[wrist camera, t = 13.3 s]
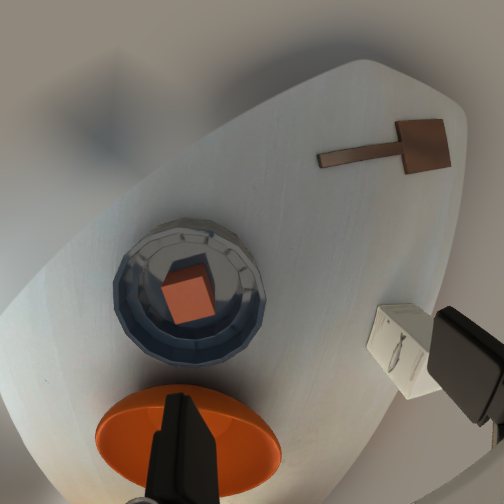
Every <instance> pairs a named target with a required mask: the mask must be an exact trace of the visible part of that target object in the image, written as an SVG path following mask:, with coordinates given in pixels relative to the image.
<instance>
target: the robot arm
mask: <svg viewBox="0 0 504 504" xmlns="http://www.w3.org/2000/svg"><path fill="white" fill-rule="evenodd" d="M427 371H428V373H429V375H430V376H431V377H432V378H433V379H434V380H435V381H436V382H437V383H438V384H439V385H440V387H441V388H442V389H443V390H444V391H445V392H446V393H447V394H448V395H449V397H450V398H451V399H452V400H453V401H454V402H455V403H456V404H457V405H458V407H459V408H460V409H461V410H462V411H463V412H464V414H465V415H466V416H467V417H468V418H469V419H470V420H471V422H472V423H477V425H478V426H479V427H481V426H482V425H484V424H485V423H486V422H487V421H488V420H489V419H490V418H491V419H492V421H493V435H492V450H490V451H489V452H488V453H487V454H486V455H484V456H483V457H482V458H481V459H479V460H478V461H477V462H475V463H474V464H473V465H471V466H470V467H469V468H467V469H466V470H465V471H463V472H462V473H460V474H459V475H458V476H456V477H455V478H453V479H452V480H450V481H449V482H447V483H446V484H444V485H443V486H441V487H439V488H438V489H436V490H434V491H433V492H431V493H429V494H428V495H426V496H424V497H423V498H421V499H419V500H417V501H415V502H413V503H411V504H504V344H502V343H501V342H500V341H498V340H497V339H496V338H495V337H493V336H492V335H490V334H489V333H488V332H486V331H485V330H484V329H482V328H481V327H480V326H478V325H477V324H476V323H474V322H473V321H471V320H470V319H469V318H467V317H466V316H464V315H463V314H461V313H460V312H459V311H457V310H456V309H454V308H453V307H451V306H447V307H446V308H444V309H441V310H440V311H438V312H437V313H436V316H435V318H434V322H433V331H432V338H431V345H430V351H429V357H428V363H427ZM126 504H220V500H219V485H218V468H217V449H216V441H215V438H214V436H213V435H212V433H211V431H210V430H209V428H208V426H207V424H206V423H205V421H204V419H203V418H202V416H201V414H200V412H199V410H198V409H197V407H196V405H195V403H194V401H193V400H192V398H191V396H190V395H185V394H184V393H183V392H180V393H173V394H167V395H166V399H165V405H164V412H163V418H162V425H161V430H158V431H156V432H155V433H154V435H153V440H152V446H151V453H150V459H149V466H148V474H147V481H146V489H145V497H139V498H134V499H132V500H130V501H128V502H127V503H126Z"/></svg>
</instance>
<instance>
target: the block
mask: <svg viewBox="0 0 504 504" xmlns="http://www.w3.org/2000/svg"><path fill="white" fill-rule="evenodd" d="M161 289H162V292H163V294H164V297H165V299H166V302H167V305H168V307H169V310H170V312H171V315H172V317H173V320H174V322H175V324H180V323H184V322H188V321H192V320H196V319H200V318H204V317H208V316H212V315H215V295H214V292H213V289H212V286H211V283H210V280H209V277H208V273H207V270H206V267H205V264H204V263H201V264H198V265H194V266H190V267H187V268H183V269H180V270H176V271H172V272H169V273H167V275H166V277H165V280H164V282H163V284H162V286H161Z"/></svg>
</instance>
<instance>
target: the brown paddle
mask: <svg viewBox="0 0 504 504" xmlns="http://www.w3.org/2000/svg"><path fill="white" fill-rule="evenodd" d="M395 125H396V129H397V134H398V138H399V142H394V143H386V144H379V145H372V146H365V147H358V148H352V149H346V150H340V151H334V152H328V153H323V154H318V155H317V157H318V162H319V166H320V168H325V167H330V166H335V165H341V164H346V163H351V162H357V161H363V160H368V159H374V158H380V157H387V156H393V155H400V154H402V159H403V165H404V171H405V174H412V173H418V172H423V171H429V170H434V169H440V168H445V167H451V161H450V155H449V149H448V143H447V137H446V132H445V127H444V123H443V119H431V120H409V121H397V122H395Z"/></svg>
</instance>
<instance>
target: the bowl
mask: <svg viewBox="0 0 504 504" xmlns="http://www.w3.org/2000/svg"><path fill="white" fill-rule="evenodd" d="M180 392H183V393H184V394H185V395H190V396H191V398H192V400H193V401H194V403H195V405H196V407H197V409H198V410H199V412H200V414H201V416H202V418H203V419H204V421H205V423H206V424H207V426H208V428H209V430H210V431H211V433H212V435H213V436H214V438H215V441H216V449H217V468H218V485H219V497H226V496H231V495H235V494H239V493H242V492H245V491H248V490H250V489H253V488H255V487H257V486H259V485H260V484H262V483H264V482H265V481H266V480H268V479H269V478H270V477H271V476H272V475H273V474H274V473H275V472H276V470H277V469H278V467H279V465H280V462H281V455H282V453H281V447H280V444H279V442H278V440H277V438H276V436H275V434H274V433H273V431H272V430H271V428H270V427H269V426H268V425H267V423H266V422H265V421H264V420H263V419H262V418H261V417H260V416H259V415H257V414H256V413H255V412H254V411H253V410H251V409H250V408H249V407H247V406H246V405H244V404H243V403H241V402H239V401H238V400H236V399H234V398H232V397H230V396H228V395H226V394H223V393H221V392H218V391H215V390H212V389H208V388H205V387H200V386H196V385H188V384H176V385H163V386H157V387H152V388H148V389H144V390H141V391H139V392H136V393H134V394H131V395H129V396H128V397H126V398H124V399H122V400H121V401H119V402H118V403H116V404H115V405H114V406H113V407H112V408H111V409H110V410H109V411H108V412H107V413H106V414H105V415H104V416H103V418H102V419H101V421H100V422H99V424H98V426H97V429H96V434H95V442H96V446H97V449H98V451H99V453H100V455H101V456H102V458H103V459H104V460H105V461H106V463H107V464H108V465H109V466H110V467H111V468H112V469H113V470H115V471H116V472H117V473H118V474H120V475H121V476H123V477H124V478H126V479H128V480H129V481H131V482H133V483H135V484H137V485H139V486H141V487H144V488H146V481H147V474H148V466H149V459H150V453H151V446H152V440H153V435H154V433H155V432H156V431H158V430H161V425H162V418H163V412H164V405H165V399H166V395H167V394H173V393H180Z"/></svg>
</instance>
